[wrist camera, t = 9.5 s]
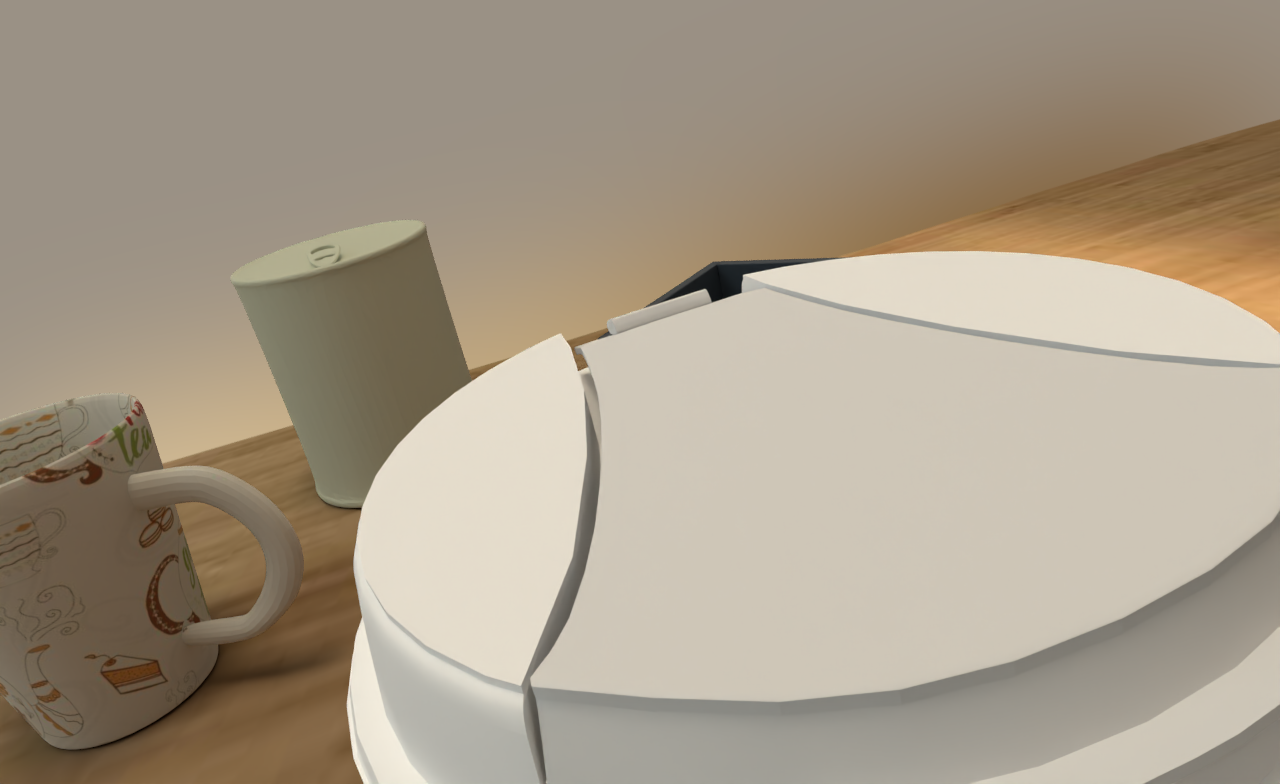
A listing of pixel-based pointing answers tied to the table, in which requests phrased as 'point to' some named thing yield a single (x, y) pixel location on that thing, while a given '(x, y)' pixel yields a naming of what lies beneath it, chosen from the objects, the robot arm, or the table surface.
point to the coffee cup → (842, 541)
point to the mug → (114, 571)
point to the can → (354, 345)
